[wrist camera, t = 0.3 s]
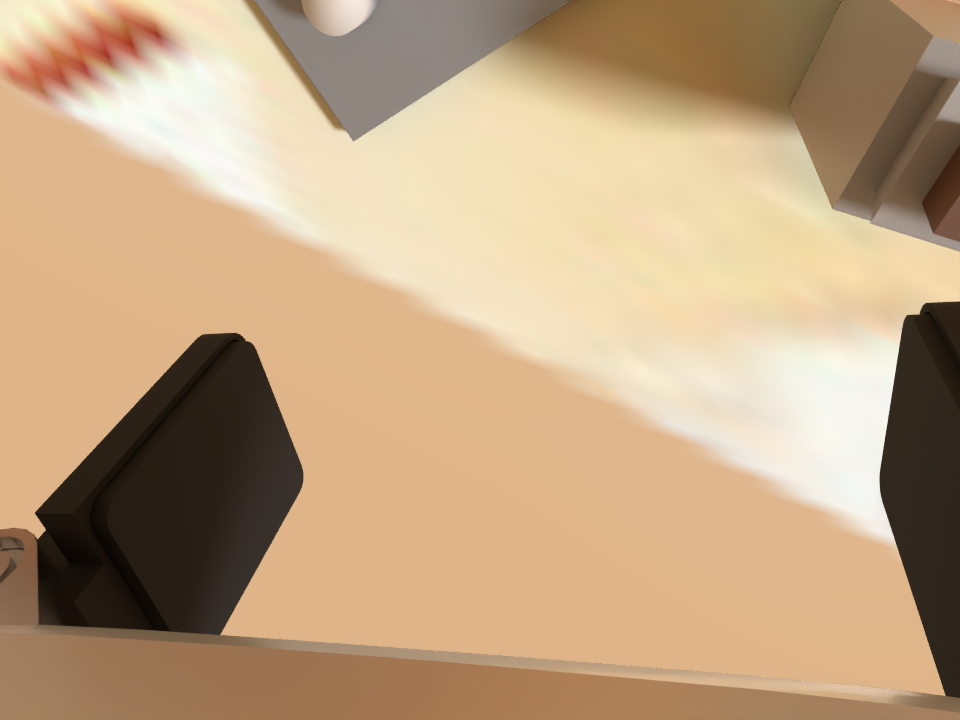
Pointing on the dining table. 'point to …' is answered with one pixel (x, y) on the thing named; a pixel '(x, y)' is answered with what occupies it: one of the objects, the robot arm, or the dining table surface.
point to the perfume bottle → (888, 115)
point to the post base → (393, 47)
